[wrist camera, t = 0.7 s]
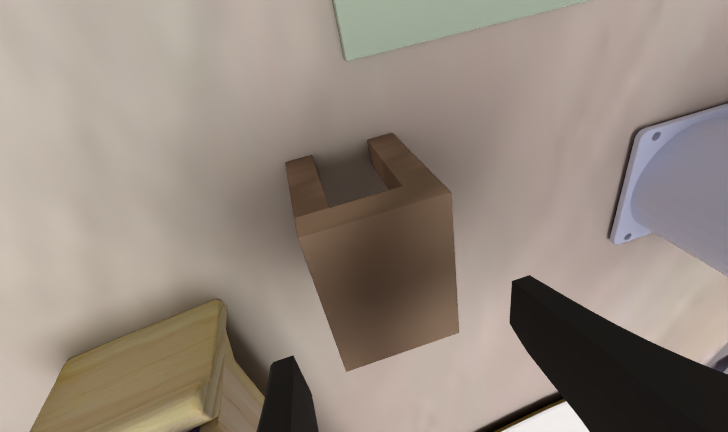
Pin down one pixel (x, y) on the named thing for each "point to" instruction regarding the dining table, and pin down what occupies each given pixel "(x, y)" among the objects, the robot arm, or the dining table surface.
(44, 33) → the dining table surface
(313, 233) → the stool
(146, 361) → the toy sofa
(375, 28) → the mat
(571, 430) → the plate
